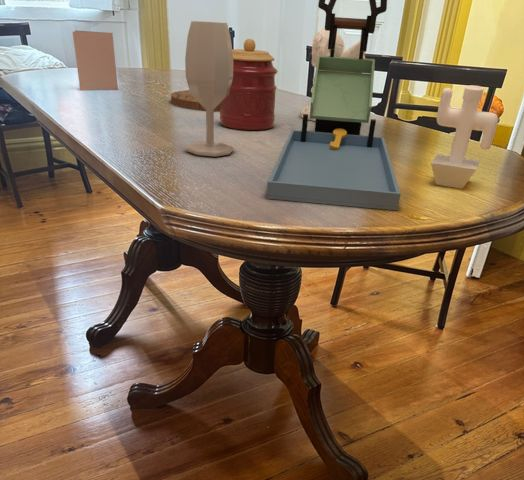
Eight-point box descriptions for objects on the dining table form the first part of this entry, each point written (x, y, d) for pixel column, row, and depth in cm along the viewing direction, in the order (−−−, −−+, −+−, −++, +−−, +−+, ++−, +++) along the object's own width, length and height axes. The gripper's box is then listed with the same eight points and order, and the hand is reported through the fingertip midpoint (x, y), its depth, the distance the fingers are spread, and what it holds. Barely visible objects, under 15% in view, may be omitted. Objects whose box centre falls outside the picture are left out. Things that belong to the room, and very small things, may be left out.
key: (333, 130, 107) (334, 127, 106) (347, 132, 106) (347, 129, 106) (328, 149, 103) (328, 145, 102) (342, 150, 102) (342, 147, 102)
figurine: (477, 193, 84) (506, 92, 75) (419, 184, 87) (441, 85, 78) (480, 182, 89) (507, 87, 81) (425, 174, 92) (446, 81, 84)
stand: (304, 131, 119) (307, 104, 116) (368, 136, 118) (373, 109, 115) (300, 144, 108) (303, 114, 105) (371, 150, 106) (376, 120, 103)
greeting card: (118, 89, 160) (113, 32, 151) (110, 92, 154) (104, 33, 145) (83, 86, 160) (75, 30, 152) (73, 89, 154) (65, 31, 146)
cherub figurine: (328, 112, 143) (337, 28, 131) (359, 121, 134) (372, 31, 123) (290, 115, 136) (297, 26, 125) (320, 124, 128) (330, 29, 117)
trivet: (228, 115, 132) (228, 106, 131) (152, 102, 142) (152, 95, 141) (274, 104, 150) (275, 97, 149) (205, 94, 160) (204, 87, 159)
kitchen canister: (230, 131, 115) (231, 39, 105) (212, 120, 124) (212, 35, 115) (282, 130, 119) (289, 42, 109) (262, 119, 129) (265, 37, 119)
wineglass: (216, 160, 93) (216, 23, 82) (177, 152, 97) (172, 20, 85) (241, 151, 100) (244, 24, 88) (204, 144, 103) (202, 20, 91)
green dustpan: (320, 43, 115) (322, 14, 110) (374, 47, 114) (379, 17, 109) (309, 118, 105) (311, 90, 99) (368, 123, 104) (373, 95, 98)
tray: (290, 142, 109) (291, 129, 107) (381, 149, 107) (383, 137, 106) (266, 198, 76) (267, 181, 75) (397, 210, 74) (400, 193, 73)
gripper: (413, -82, 101) (391, 51, 114) (313, -87, 103) (303, 46, 116) (417, -88, 95) (393, 54, 108) (311, -93, 97) (300, 48, 110)
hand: (346, 49), depth 112 cm, fingers closed on green dustpan, 7 cm apart
